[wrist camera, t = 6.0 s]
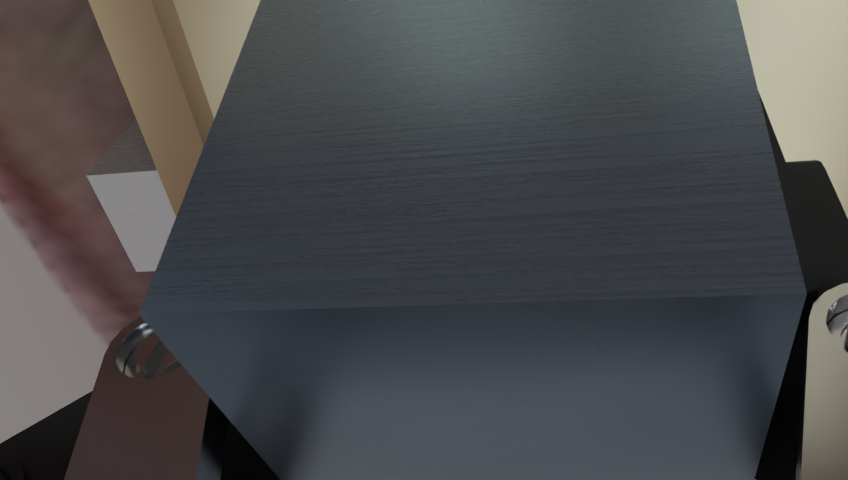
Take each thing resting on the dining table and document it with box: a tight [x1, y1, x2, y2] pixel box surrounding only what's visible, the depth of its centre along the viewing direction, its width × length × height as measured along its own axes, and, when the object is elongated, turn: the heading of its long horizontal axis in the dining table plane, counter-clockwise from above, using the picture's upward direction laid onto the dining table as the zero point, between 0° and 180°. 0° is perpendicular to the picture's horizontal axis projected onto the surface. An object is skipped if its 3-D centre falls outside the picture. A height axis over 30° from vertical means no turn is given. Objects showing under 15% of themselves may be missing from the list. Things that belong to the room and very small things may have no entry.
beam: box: [88, 0, 848, 218], centre depth 15 cm, size 14×26×7 cm, turn 11°
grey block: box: [139, 0, 807, 480], centre depth 9 cm, size 4×5×6 cm
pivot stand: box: [87, 119, 176, 272], centre depth 16 cm, size 18×8×7 cm, turn 101°
